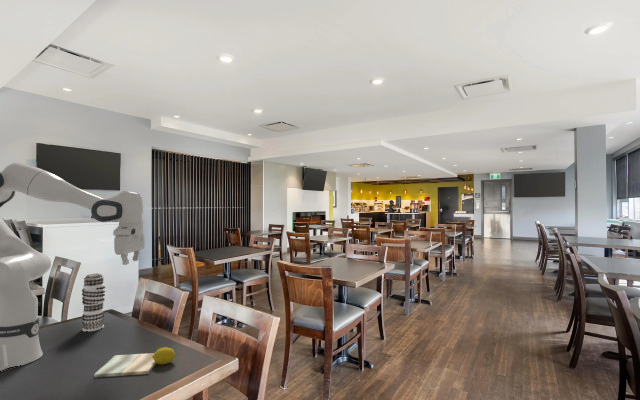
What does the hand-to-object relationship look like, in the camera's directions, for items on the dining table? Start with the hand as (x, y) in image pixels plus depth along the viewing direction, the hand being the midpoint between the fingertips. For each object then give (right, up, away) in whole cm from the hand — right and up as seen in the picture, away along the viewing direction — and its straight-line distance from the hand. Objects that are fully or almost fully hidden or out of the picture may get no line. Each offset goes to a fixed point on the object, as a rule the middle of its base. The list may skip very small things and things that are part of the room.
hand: (130, 262), depth 138 cm
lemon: (+19, -30, -20) cm, 41 cm away
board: (+12, -33, -21) cm, 41 cm away
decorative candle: (-26, -34, +15) cm, 45 cm away
